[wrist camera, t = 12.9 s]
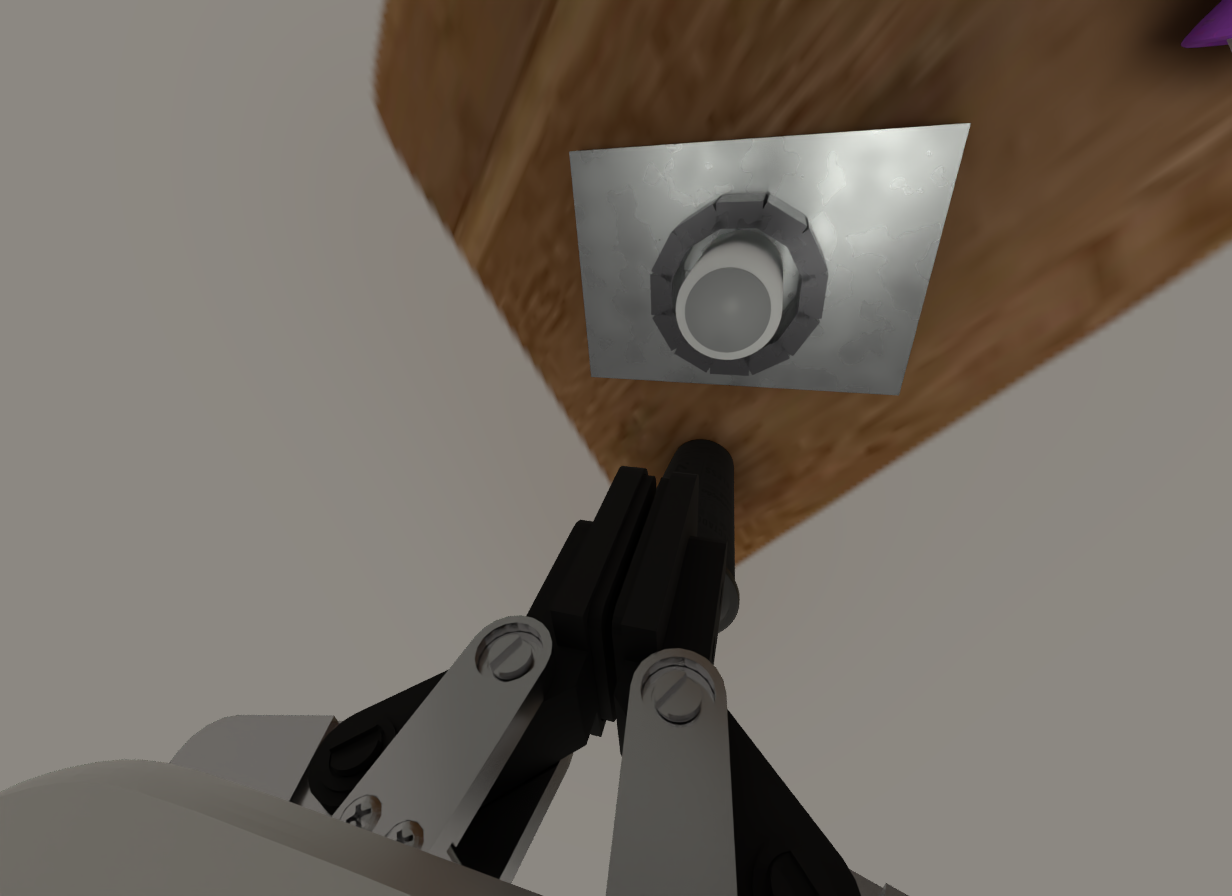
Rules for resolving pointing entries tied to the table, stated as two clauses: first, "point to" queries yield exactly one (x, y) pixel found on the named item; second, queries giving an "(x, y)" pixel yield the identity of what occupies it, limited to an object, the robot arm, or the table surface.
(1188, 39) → the toy camera
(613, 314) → the lens mount
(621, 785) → the robot arm
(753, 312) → the white cylinder
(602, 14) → the table surface
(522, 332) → the table surface
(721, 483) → the drinking cup
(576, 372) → the table surface
